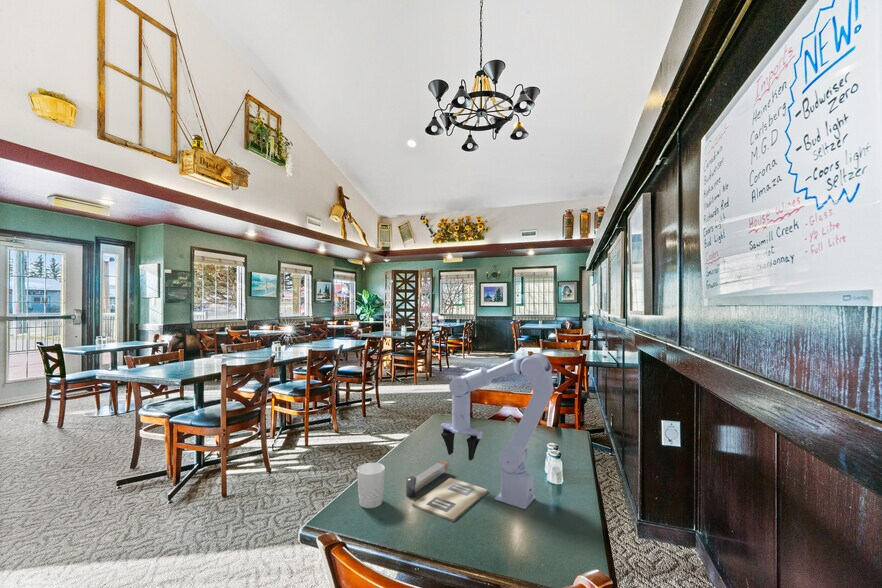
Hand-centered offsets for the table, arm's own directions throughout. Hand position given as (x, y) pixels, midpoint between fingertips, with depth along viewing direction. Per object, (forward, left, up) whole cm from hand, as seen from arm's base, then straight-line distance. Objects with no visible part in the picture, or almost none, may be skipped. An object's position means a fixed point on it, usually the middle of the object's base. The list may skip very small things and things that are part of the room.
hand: (460, 456), depth 126 cm
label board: (-2, +9, -9) cm, 13 cm away
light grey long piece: (+9, +5, -9) cm, 14 cm away
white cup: (+16, +24, -9) cm, 30 cm away
